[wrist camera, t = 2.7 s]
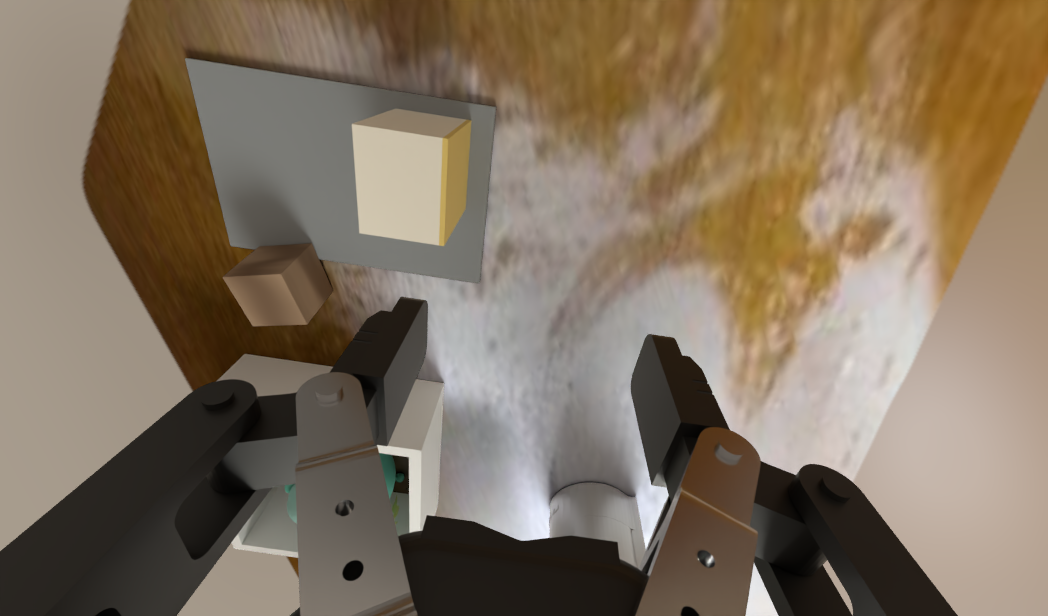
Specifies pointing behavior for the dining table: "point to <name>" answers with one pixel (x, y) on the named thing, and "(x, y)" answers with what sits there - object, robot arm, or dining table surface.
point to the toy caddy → (409, 439)
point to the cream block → (411, 174)
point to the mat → (323, 166)
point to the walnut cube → (280, 285)
